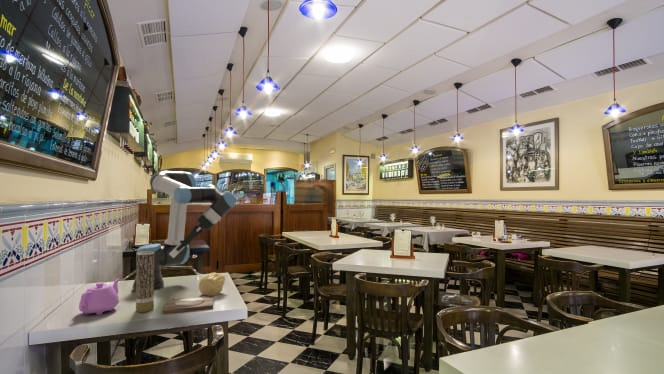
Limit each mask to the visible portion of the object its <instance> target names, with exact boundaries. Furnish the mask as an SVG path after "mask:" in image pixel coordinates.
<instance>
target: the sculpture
mask: <svg viewBox="0 0 664 374" xmlns="http://www.w3.org/2000/svg"><path fill="white" fill-rule="evenodd" d="M225 280H226V277H225V275H223V274H221V273H218V272H211V273H207V274H205V275H204V276H202V277H201V278H200V281H199V283H198V289H199V292H200V294H201V295H202V296H203V295H204V296H217V295H219V294H221V292H222V291H223V287H224V285H225V282H226V281H225Z"/></svg>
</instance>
